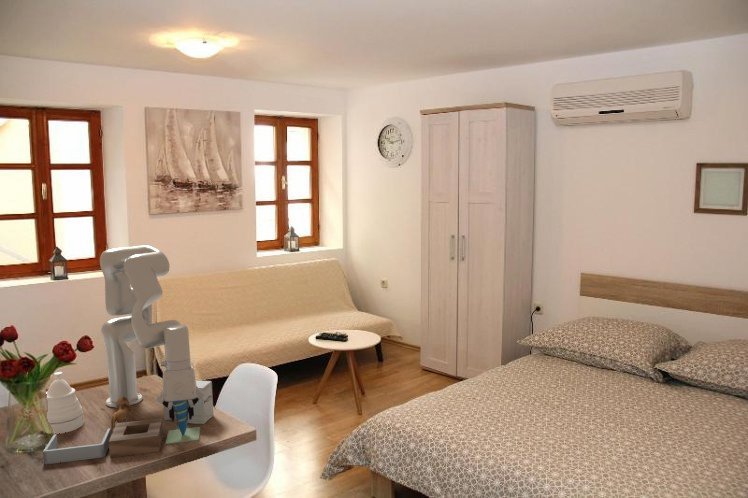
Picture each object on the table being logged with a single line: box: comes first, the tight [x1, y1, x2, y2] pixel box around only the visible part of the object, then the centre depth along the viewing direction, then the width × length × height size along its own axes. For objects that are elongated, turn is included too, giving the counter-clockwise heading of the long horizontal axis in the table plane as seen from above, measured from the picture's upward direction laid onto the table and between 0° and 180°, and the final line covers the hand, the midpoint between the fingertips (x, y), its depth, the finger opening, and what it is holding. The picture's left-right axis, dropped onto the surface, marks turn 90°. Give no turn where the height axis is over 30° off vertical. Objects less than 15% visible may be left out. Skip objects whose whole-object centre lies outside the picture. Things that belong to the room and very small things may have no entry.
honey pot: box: [45, 371, 85, 435], centre depth 211 cm, size 13×13×18 cm
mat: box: [165, 426, 201, 445], centre depth 201 cm, size 10×10×1 cm
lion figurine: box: [110, 396, 131, 435], centre depth 208 cm, size 15×5×9 cm, turn 13°
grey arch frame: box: [42, 427, 111, 465], centre depth 192 cm, size 12×17×4 cm
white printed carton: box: [163, 404, 177, 421], centre depth 217 cm, size 4×7×10 cm, turn 177°
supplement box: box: [187, 380, 214, 425], centre depth 213 cm, size 7×7×13 cm
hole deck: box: [108, 417, 165, 458], centre depth 195 cm, size 14×14×5 cm
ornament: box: [173, 400, 189, 435], centre depth 200 cm, size 5×5×15 cm
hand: (181, 418), depth 201 cm, fingers closed on ornament, 4 cm apart
